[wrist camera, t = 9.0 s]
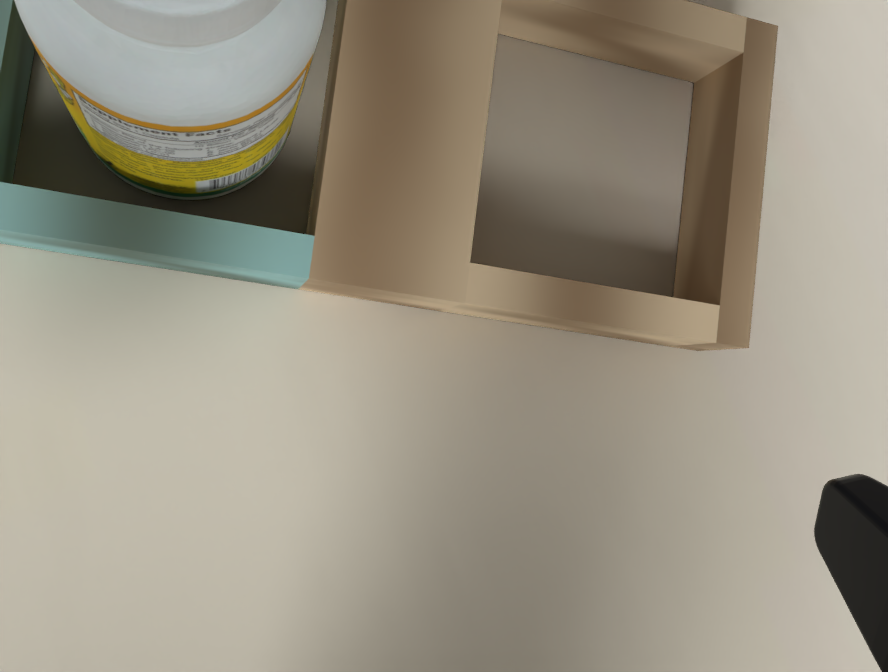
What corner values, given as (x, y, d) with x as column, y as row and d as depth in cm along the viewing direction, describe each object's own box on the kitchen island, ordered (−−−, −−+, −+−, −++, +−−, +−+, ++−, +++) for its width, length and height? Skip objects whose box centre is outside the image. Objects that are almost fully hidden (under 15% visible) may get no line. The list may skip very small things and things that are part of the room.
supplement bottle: (262, 229, 21) (303, 117, 12) (42, 165, 20) (-103, -15, 11) (315, 35, 22) (392, -214, 13) (104, -39, 21) (18, -379, 11)
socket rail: (726, 58, 25) (778, 26, 23) (698, 350, 24) (748, 347, 22) (18, -127, 20) (-7, -193, 18) (-45, 236, 19) (-81, 217, 17)
